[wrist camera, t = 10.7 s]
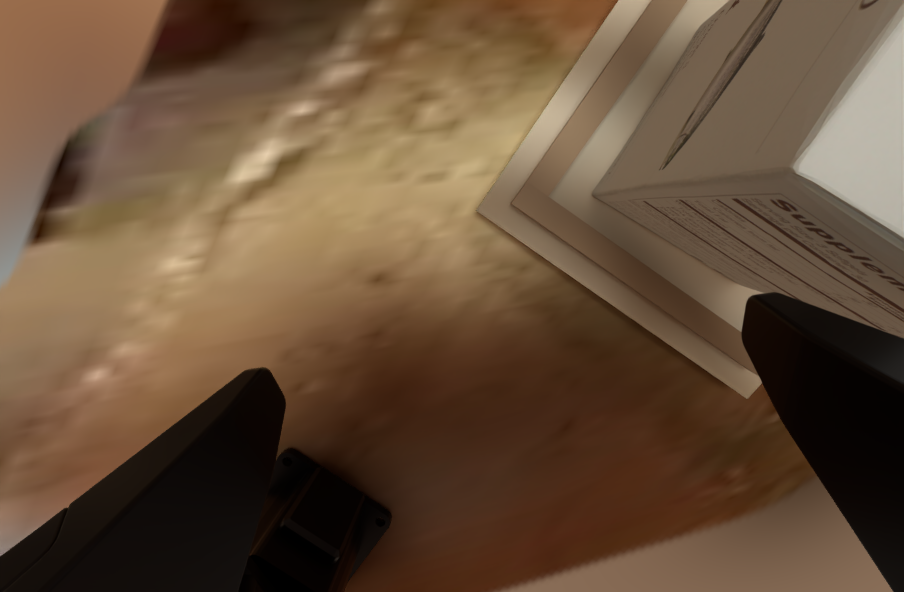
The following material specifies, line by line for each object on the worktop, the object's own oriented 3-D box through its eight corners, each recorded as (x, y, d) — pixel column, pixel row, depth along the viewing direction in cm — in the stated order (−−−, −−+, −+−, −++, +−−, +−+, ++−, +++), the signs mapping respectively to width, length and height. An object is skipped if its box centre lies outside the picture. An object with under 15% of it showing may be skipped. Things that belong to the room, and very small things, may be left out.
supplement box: (697, 20, 17) (1275, -494, 5) (861, 128, 17) (1827, -80, 5) (582, 195, 18) (783, 166, 6) (735, 292, 19) (1229, 455, 6)
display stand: (728, 385, 21) (761, 409, 18) (476, 210, 20) (475, 210, 18) (967, 115, 18) (1042, 100, 16) (685, -97, 18) (717, -147, 15)
